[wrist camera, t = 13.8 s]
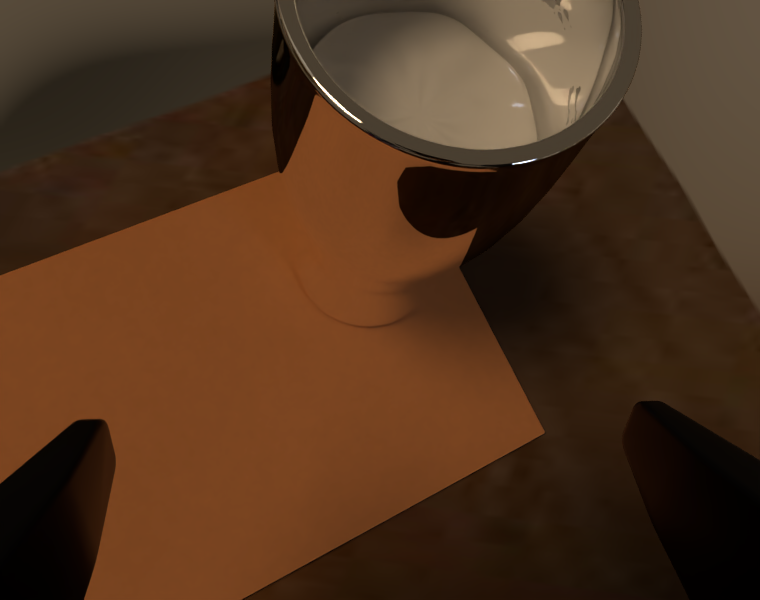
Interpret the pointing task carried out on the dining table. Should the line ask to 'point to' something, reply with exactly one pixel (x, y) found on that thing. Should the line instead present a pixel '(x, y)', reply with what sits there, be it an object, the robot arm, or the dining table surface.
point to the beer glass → (431, 130)
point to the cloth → (243, 397)
